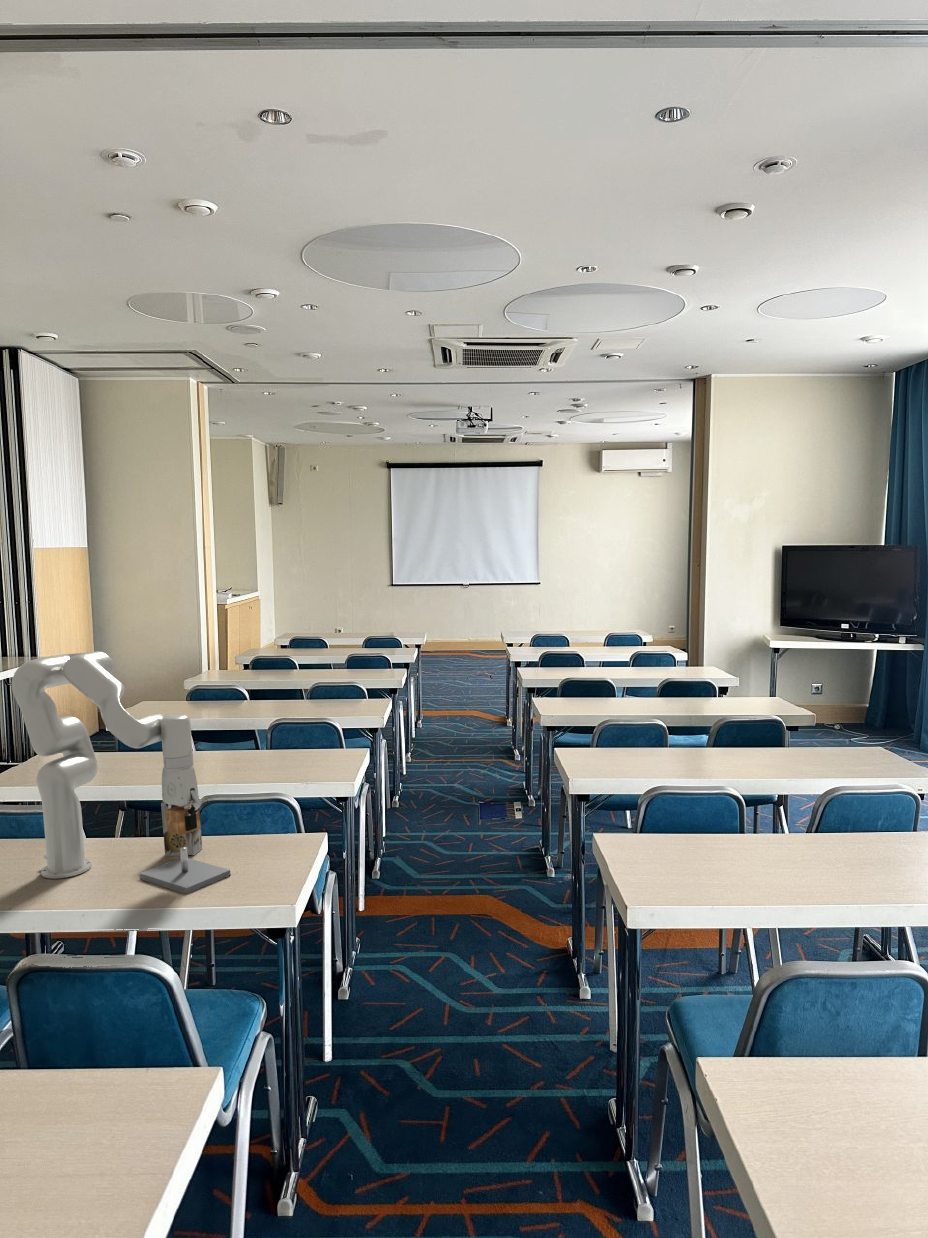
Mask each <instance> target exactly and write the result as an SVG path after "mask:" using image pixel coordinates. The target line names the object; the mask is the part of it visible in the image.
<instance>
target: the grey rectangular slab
mask: <svg viewBox="0 0 928 1238" xmlns="http://www.w3.org/2000/svg"><path fill="white" fill-rule="evenodd" d="M188 869H189V871H188V872H186V873H182V871H181V857H180V858H177V859H175V860H172V861H170V862H166V863H164V864H161V865H158V866H155V867H153V868H151V869H147V870H145V871H142V872H139V877H140V878H139V879H140V880H143V881H146V882H150V883H152V884H155V885H159V886H161V885H162V887H164V886H165V888H167V887H168V889H171V890H174V891H177V892H180V893H184V894H189V893H192V892H194V890H195V891H196V890H200V889H201V887H202V888H204V887H206V886H209V885H211V884H213V882H214V883H216V882H217V880H218V881H220V879H221V880H222V879H226V878H228V877H230V876H231V875H232V874H231V870H230V869H229V868H225V867H221V866H219V865H218V866H217V865H214V864H211V863H206V862H203V861H200V860H196V859H193V858H191V857H188ZM229 875H230V876H229ZM227 876H228V877H227ZM225 877H226V878H225ZM215 881H216V882H215ZM205 885H206V886H205ZM203 886H204V887H203Z"/></svg>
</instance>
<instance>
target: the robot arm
mask: <svg viewBox="0 0 928 1238" xmlns="http://www.w3.org/2000/svg"><path fill="white" fill-rule="evenodd" d="M114 671H115V664H114V661H113V659H112V657H110V656H109V655H108V654H107V653H106V652H103V651H96V650H95V651H89V652H78V653H77V652H76V653H65V654H59V655H58V654H57V655H51V656H45V657H39V658H34V659H32V660H28V661H26V662H25V663H23V664H21V665H20V666H18V668H17V669H16V670H15V672H14V674H13V677H12V680H11V689H12V693H13V697H14V699H15V700H16V702H17V703H16V704H18V707H19V709H20V711H21V715H22V718H23V722H24V725H25V728H26V731H27V734H28V737H29V741H30V744H31V747H32V749H33V751H34V753H36V755H38V756H41V757H52V756H54V755H58V754H62V755H63V756H61V757H58V758H56V759H52V760H51V761H48V762H47V763H45V764H44V765H42V766H41V767H40V768H39V770H38V771H37V774H36V775H37V776H36V785H37V790H38V793H39V795H40V799H41V800H40V801H41V806H42V816H43V827H44V840H45V843H44V844H45V855H44V856H43V858H44V859H45V860H46V866H44V867H43V868H42V869H41V871H40V872H41V873H40V874H41V876H42V877H43V878H45V879H52V880H53V879H55V880H56V879H66V878H70V877H75V876H77V875H80V874H83V873H85V872H87V871H88V870H90V868H92V861H91V860H90V859H87V858H86V857H85V843H84V842H85V841H84V829H83V827H84V826H83V816H82V815H83V814H82V806H81V805H82V804H81V802H80V800H79V799H80V798H79V797H78V796H77V794H76V793H75V789H77V788H79V787H81V786H84V785H87V784H88V783H90V782H92V781H93V780H94V779H95V778H96V776H97V774H98V768H99V767H98V760H97V757H96V754H95V751H94V748H93V744H92V742H91V738H90V735H89V734H90V733H89V732H88V730H87V727H86V726H85V724H84V722H82V720H80V719H79V718H77V717H75V716H72V715H68V716H67V715H66V716H61V717H60V714H59V712H58V709H57V706H56V704H55V701H54V700H53V698H52V697H51V696H50V695H49V694H48V693H47V692H45V690H46V689H51V688H54V687H59V686H60V687H61V686H63V685H68V684H71V685H72V686H73V687H74V688H76V689H77V690H78V691H79V692H80V693H81V694H83V695H84V696H85V697H86V698H88V699H89V700H90V701H91V702H92V703H93V704H94V705H96V706H97V708H99V710H100V715H101V716H100V717H101V719H102V721H103V723H104V725H105V727H106V729H107V730H108V731H109V732H110V733H111V734H112V735H113V736H114V738H115V737H116V739H118V741H120V742H121V743H123V744H124V745H126V747H127V746H128V747H129V748H133V749H143V748H144V747H146V746H147V747H148V746H150V745H152V744H156V743H158V742H161V747H162V759H163V760H162V761H163V767H162V772H161V773H162V774H161V797H162V802H164V803H165V804H166V806H167V808H168V809H170V808H173V807H176V806H180V807H184V809H185V812H186V815H187V816H185V825H186V831H190V830H193V829H196V828H197V819H196V814H197V811H198V809H200V807H201V806H202V801H201V799H200V797H199V798H198V796H199V788H198V781H197V774H196V770H195V766H194V753H193V738H192V730H191V729H192V727H191V719H190V717H189V716H188V715H186V714H173V715H167V714H163V713H152V714H149V715H146V716H142V717H139V718H135V717H134V716H133V715H131V714H130V713H129V712H128V711H127V710H126V709H125V708H124V707H123V705H122V704H121V699H122V698H123V697H124V694H125V692H126V691H125V690H126V687H125V686H124V684H123V683H122V682H121V681H120V680H119V679H117V678H116V677H115V676H113V673H114ZM189 802H191V803H189ZM188 803H189V804H188ZM188 806H191V808H190V810H189V807H188Z"/></svg>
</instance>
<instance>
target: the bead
mask: <svg viewBox="0 0 928 1238" xmlns="http://www.w3.org/2000/svg"><path fill="white" fill-rule="evenodd" d="M188 807H189V810H190V808H191V806H188ZM199 809H200V808H199ZM199 809H198V811H197V814H196V819H197V828H196V829H193V830H190V831H186V825H185V816H187V815H186V812H185V809H184V807H180V806H176V807H173V808H170V809H166V821H167V832H171V833H175V834H179V835H183V834H185V833H188V832H191V831H194V830H197V829H199V828H200V823H201V818H200V819H199Z"/></svg>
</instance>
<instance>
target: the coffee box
mask: <svg viewBox="0 0 928 1238" xmlns="http://www.w3.org/2000/svg"><path fill="white" fill-rule="evenodd" d="M198 798H199V799H200V797H199V795H198ZM189 803H191V802H189ZM189 803H188V804H189ZM160 807H161V818H162V819H161V820H162V830H163V831H162V832H163V834H162V835H163V845H164V846H163V847H164V856H165V857H175V856H176V857H177V856H179V857H181V855H180V848H182V847H187V854H188V855H194V856H195V855H197V854H198V853H199V852H200V851H201V850H203V839H202V827H201V822H200V828H199V829H197V830H194V831H191V832H188V833H185V834H183V835H179V834H175V833H171V832H167V821H166V809H168V808H167V806H166V804H165V803H164V802H163V801H161V803H160ZM199 819H200V820H201V811H200V808H199Z"/></svg>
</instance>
